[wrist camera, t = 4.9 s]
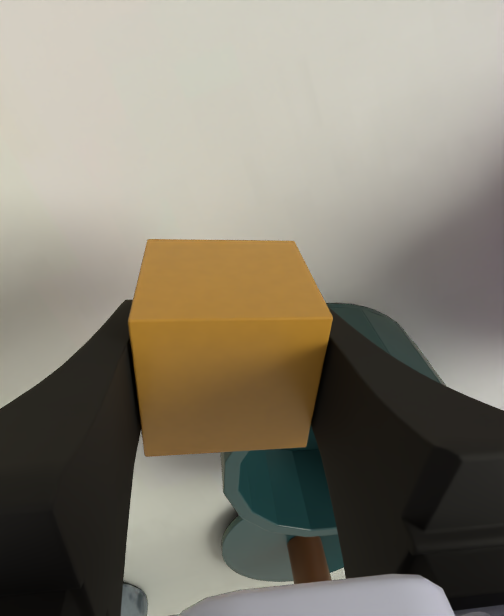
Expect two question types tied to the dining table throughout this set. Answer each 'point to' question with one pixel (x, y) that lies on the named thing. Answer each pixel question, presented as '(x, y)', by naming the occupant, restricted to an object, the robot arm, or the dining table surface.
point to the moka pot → (133, 601)
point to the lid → (279, 554)
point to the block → (226, 346)
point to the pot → (306, 452)
